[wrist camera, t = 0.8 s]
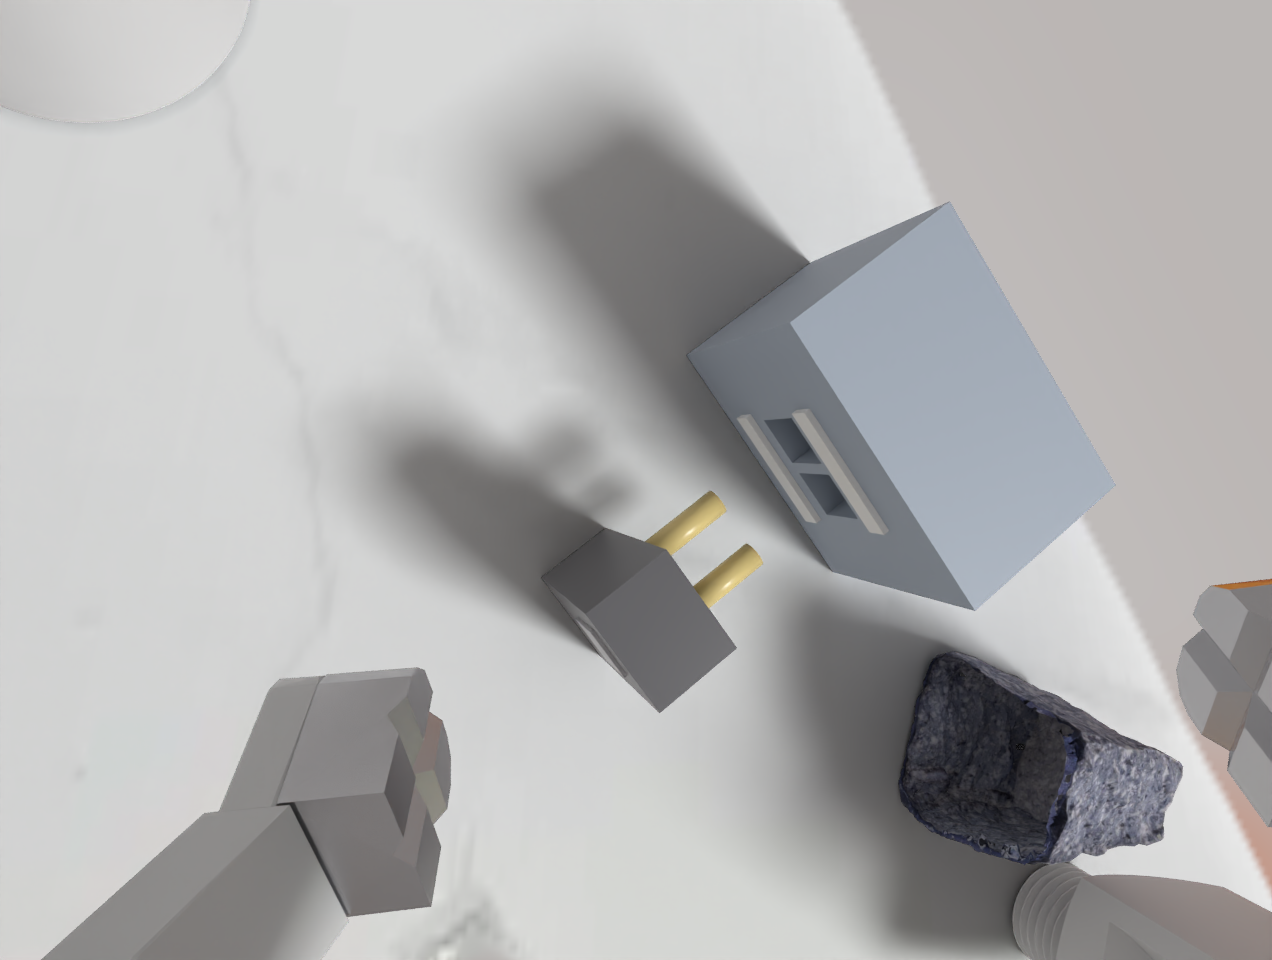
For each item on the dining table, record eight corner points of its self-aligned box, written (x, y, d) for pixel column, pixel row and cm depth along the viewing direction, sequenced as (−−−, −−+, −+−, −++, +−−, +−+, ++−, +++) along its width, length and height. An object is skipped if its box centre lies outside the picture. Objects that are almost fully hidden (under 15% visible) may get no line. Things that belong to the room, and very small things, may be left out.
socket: (681, 358, 45) (783, 327, 34) (810, 262, 47) (949, 201, 35) (828, 575, 48) (969, 615, 36) (945, 476, 49) (1116, 485, 38)
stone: (847, 769, 50) (921, 614, 48) (971, 777, 55) (1044, 637, 52) (996, 941, 40) (1100, 756, 38) (1133, 934, 45) (1234, 769, 42)
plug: (538, 579, 44) (582, 616, 34) (667, 479, 45) (743, 487, 36) (597, 658, 45) (656, 715, 35) (722, 557, 46) (810, 585, 36)
